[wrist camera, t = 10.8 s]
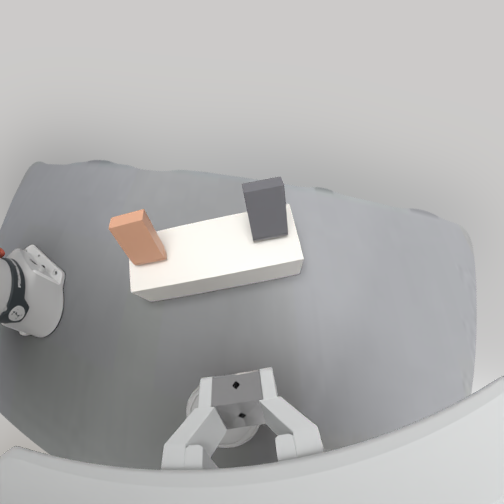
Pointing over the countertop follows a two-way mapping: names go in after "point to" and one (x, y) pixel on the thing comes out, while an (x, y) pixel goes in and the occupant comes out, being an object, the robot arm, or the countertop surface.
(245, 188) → the rocker charcoal
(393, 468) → the robot arm
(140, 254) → the rocker terracotta
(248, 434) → the disposable coffee cup
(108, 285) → the countertop surface
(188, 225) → the switch box
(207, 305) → the countertop surface
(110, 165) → the countertop surface
